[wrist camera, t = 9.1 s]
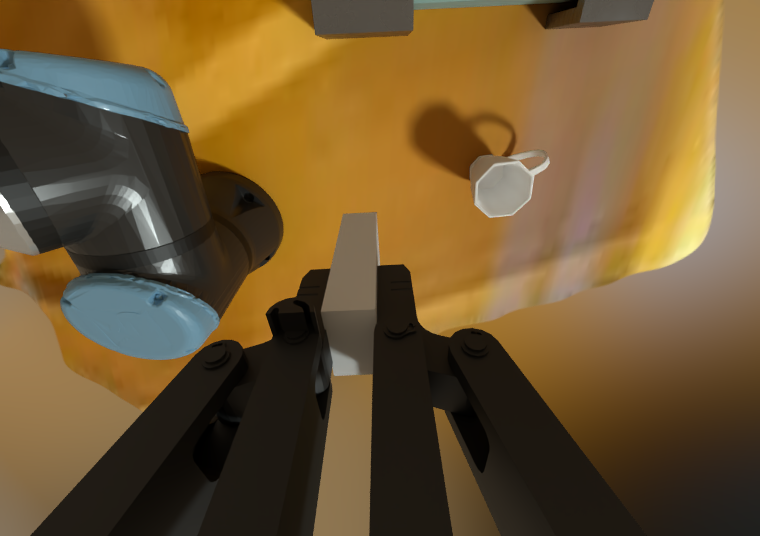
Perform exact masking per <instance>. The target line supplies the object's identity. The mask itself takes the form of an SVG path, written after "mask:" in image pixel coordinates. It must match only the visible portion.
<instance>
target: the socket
mask: <svg viewBox="0 0 760 536" xmlns="http://www.w3.org/2000/svg"><path fill="white" fill-rule="evenodd" d="M653 1H654V0H578V4H577V7H576V8H572V9H569V10H565V11H561V12H558V13H554V14H550V15H548V17H547V22H546V27H545V29H561V28H583V27H602V26H608V25H615V24H621V23H628V22H634V21H641V20H647V19H648V16H649V13H650V10H651V7H652V4H653Z"/></svg>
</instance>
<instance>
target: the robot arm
mask: <svg viewBox="0 0 760 536" xmlns="http://www.w3.org/2000/svg"><path fill="white" fill-rule="evenodd" d="M188 133H189V129H188V127H187V126H186V125H184V122H183V120H182V117H181V115H180V112H179V109H178V106H177V103H176V101H175V98H174V95H173V92H172V90H171V88H170V86H169V85H168V84H167V82H166V81H165V80H164V79H163V78H162V77H161V76H160V75H158V74H157V73H155V72H154V71H152V70H149V69H147V68H144V67H140V66H134V65H129V64H123V63H116V62H109V61H102V60H95V59H87V58H79V57H72V56H63V55H55V54H47V53H38V52H28V51H19V50H18V51H13V50H8V49H0V248H4V249H8V250H12V251H16V252H20V253H25V254H29V255H38V254H41V253H45V252H48V251H51V250H54V249H58V248H61V247H64V248H65V249H66V251H67V252H68V254H69V255H70V257H71V259H72V260H73V262H74V263H75V265H76V267H77V268H78V270H79V272H80V274H81V275H80V276H79V277H77V278H74V279H73V280H72V281H70V282H69V283H68V285H67V288H66V289H65V291H64V292H63V297H62V298H61V300H60V305H61V309H62V311H63V313H64V315H65V317H66V319H67V320H68V321H69V322H70V324H71V325H72V326H73V327H74V328H75V329H77V330H78V331H79V332H80V333H81V334H83V335H84V336H86V337H87V338H89V339H91V340H92V341H94V342H96V343H97V344H99V345H101V346H104V347H106V348H108V349H111V350H114V351H117V352H119V353H122V354H125V355H129V356H133V357H138V358H144V359H154V360H166V359H175V358H179V357H183V356H186V355H188V354H190V353H192V352H194V351H195V350H197V349H198V348H199V347H200V346H201V345H202V344H203V343H204V342H205V341H206V339H207V338H208V336H209V335H210V334H211V332H212V331H214V330H215V329H216V328H217V327H218V325H219V322H220V319H221V318H222V316H223V314H224V313H225V311H226V309H227V308H228V306H229V304H230V303H231V301H232V299H233V298H234V296H235V294H236V293H237V291H238V290H239V288H240V286H241V285H242V283H243V281H244V280H245V278H246V276H247V275H248V274H250V273H251V272H253V271H255V270H256V269H258V268H260V267H261V266H263V265H264V264H266V263H267V262H268V261H269V260H270V259H271V258H272V257H273V256H274V255H275V253H276V251H277V249H278V248H279V246H280V244H281V241H282V238H283V221H282V217H281V214H280V212H279V210H278V208H277V206H276V204H275V203H274V201H273V200H272V199H271V197H270V196H269V195H268V194H267V193H266V192H265V191H264V190H263V189H262V188H261V187H259V186H258V185H257V184H255V183H254V182H252V181H250V180H249V179H247V178H244V177H242V176H240V175H237V174H233V173H229V172H208V173H204V174H201V175H200V173H199V170H198V166H197V163H196V160H195V156H194V153H193V149H192V146H191V143H190V139H189V136H188ZM266 317H267V320H268V323H269V326H270V328H271V331H272V334H273V337H272V339H271V340H270V341H267V342H265V343H262V344H259V345H255V346H252V347H249V348H245V349H243V348H242V346H241V345H240V343H239V342H236V341H234V340H221V341H218V342H214V343H212V344H210V345H208V346H206V347H204V348H203V349H202V350H201V351H199V352H198V353H197V354H196V355H195V356H194V357H193V358H192V359H191V360H190V361H189V363H188V364H187V365H186V366H185V367H184V368H183V369H182V370H181V371H180V372H179V374H178V375H177V376H176V377H175V378H174V379H173V380H172V381H171V382H170V383H169V384H168V386H167V387H166V388H165V389H164V390H163V391H162V392H161V393H160V394H159V395H158V396H157V398H156V399H155V400H154V401H153V402H152V403H151V404H150V405H149V406H148V407H147V409H146V410H145V411H144V412H143V413H142V414H141V415H140V416H139V417H138V418H137V419H136V421H135V422H134V423H133V424H132V425H131V426H130V427H129V428H128V429H127V430H126V432H125V433H124V434H123V435H122V436H121V437H120V438H119V439H118V440H117V442H115V444H114V445H113V446H112V447H111V448H110V449H109V450H108V451H107V453H106V454H105V455H104V456H103V457H102V458H101V459H100V460H99V461H98V462H97V463H96V464H95V465H94V467H93V468H92V469H91V470H90V471H89V472H88V473H87V474H86V475H85V476H84V478H83V479H82V480H81V481H80V482H79V483H78V484H77V485H76V486H75V487H74V488H73V490H72V491H71V492H70V493H69V494H68V495H67V496H66V497H65V498H64V499H63V501H62V502H61V503H60V504H59V505H58V506H57V507H56V508H55V509H54V510H53V512H52V513H51V514H50V515H49V516H48V517H47V518H46V519H45V520H44V521H43V522H42V524H41V525H40V526H39V527H38V528H37V529H36V530H35V531H34V533H32V534H31V536H313V530H314V523H315V516H316V508H317V501H318V493H319V486H320V479H321V472H322V464H323V457H324V450H325V442H326V435H327V427H328V420H329V412H330V405H331V398H332V384H331V379H330V378H331V371H332V367H333V372H334V376H340V375H365V374H373V391H372V392H373V393H372V440H371V442H372V443H371V489H370V533H369V536H453V533H452V527H451V521H450V514H449V507H448V502H447V495H446V488H445V482H444V475H443V469H442V462H441V456H440V449H439V443H438V436H437V430H436V423H435V417H434V411H433V407H436V408H439V409H443V410H445V413H446V415H447V417H448V420H449V422H450V424H451V426H452V429H453V431H454V433H455V435H456V437H457V440H458V442H459V444H460V446H461V448H462V451H463V453H464V455H465V457H466V459H467V462H468V464H469V466H470V468H471V470H472V473H473V475H474V477H475V479H476V481H477V484H478V486H479V488H480V490H481V493H482V495H483V496H484V499H485V501H486V503H487V506H488V508H489V510H490V512H491V515H492V517H493V519H494V521H495V523H496V526H497V528H498V530H499V532H500V534H501V536H647V535H646V534H645V533H644V531H643V530H642V529H641V527H640V526H639V525H638V523H637V522H636V521H635V519H634V518H633V517H632V516H631V514H630V513H629V512H628V510H627V509H626V508H625V506H624V505H623V504H622V502H621V501H620V500H619V499H618V497H617V496H616V495H615V493H614V492H613V491H612V489H611V488H610V487H609V485H608V484H607V483H606V482H605V480H604V479H603V478H602V476H601V475H600V474H599V472H598V471H597V470H596V468H595V467H594V466H593V465H592V463H591V462H590V461H589V459H588V458H587V457H586V455H585V454H584V453H583V451H582V450H581V449H580V448H579V446H578V445H577V444H576V442H575V441H574V440H573V438H572V437H571V436H570V434H568V432H567V430H566V429H565V428H564V427H563V425H562V424H561V423H560V421H559V420H558V419H557V417H556V416H555V415H554V413H553V412H552V411H551V410H550V408H549V407H548V406H547V404H546V403H545V402H544V400H543V399H542V398H541V396H540V395H539V394H538V393H537V391H536V390H535V389H534V387H533V386H532V385H531V383H530V382H529V381H528V380H527V378H526V377H525V376H524V374H523V373H522V372H521V371H520V369H519V368H518V366H517V365H516V364H515V362H514V361H513V360H512V359H511V357H510V356H509V355H508V353H507V352H506V351H505V349H504V348H503V347H502V346H501V344H500V343H499V342H498V340H496V339H495V338H494V337H493V336H492V335H491V334H489V333H487V332H485V331H483V330H479V329H474V328H469V329H462V330H459V331H457V332H455V333H454V334H453V335H452V336H451V337H450V338H449V337H445V336H440V335H437V334H433V333H431V332H429V331H427V330H426V329H424V328H423V327H422V326H421V325H420V323H419V322H418V319H417V315H416V308H415V301H414V295H413V288H412V282H411V275H410V271H409V270H408V269H407V268H406V267H405V266H404V264H401V265H381V266H380V257H379V242H378V227H377V212H371V213H353V214H343V217H342V221H341V226H340V230H339V235H338V239H337V243H336V248H335V252H334V256H333V261H332V265H331V269H317V270H310V271H309V272H308V273H307V274H306V275H305V276H304V277H303V278H302V281H301V284H300V289H299V290H298V293H297V296H296V297H294V298H288V299H284V300H282V301H279V302H277V303H276V304H274V305H273V306H272V307H270V308H269V310H268V311H267V313H266Z"/></svg>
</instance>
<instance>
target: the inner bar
mask: <svg viewBox="0 0 760 536" xmlns="http://www.w3.org/2000/svg"><path fill="white" fill-rule="evenodd" d="M570 1H575V0H414V9H413V10H417V9H438V8H459V7H480V6H501V5H521V4H542V3H562V2H570Z"/></svg>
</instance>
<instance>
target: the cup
mask: <svg viewBox="0 0 760 536" xmlns="http://www.w3.org/2000/svg"><path fill="white" fill-rule="evenodd" d="M535 156H539V157H543V158H545V159H544V160H543V162H542V163H541V164H539V165H537V166H535V167H532V168H530V169H527V168H526V167H525V166H524V165H523V164H522V163H521V162H520V161H518V160H520V159H525V158H529V157H535ZM549 163H550V161H549V157H548V155H547V152H545V151H544V150H538V149H537V150H530V151H526V152H522V153H518V154H514V155H511V156H508V157H504V156H493V155H492V154H491V155H483V156H479V157H478V158H477V159H476V160H475V161H474V162H473V163H472V164H471V165H470V174H469V178H470V180H471V192H472V196H473V200H474V204H475V206H477V207H478V208H479V209H480V210H481V211H482V212H484V213H485V214H486V215H487V216H488V217H489V218H492V217H501V216H511V215H513V214H514V213H515V212H517V211H518V210H519V209H520V208H521V207H522V206H523V205H524V204H525V203H527V202H528V201H529V200H530V199H531V194H532V188H533V181H534V175H536V174H538V173H540V172H541V171H543V170H544V169H546V168H547V167H548V165H549Z"/></svg>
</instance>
